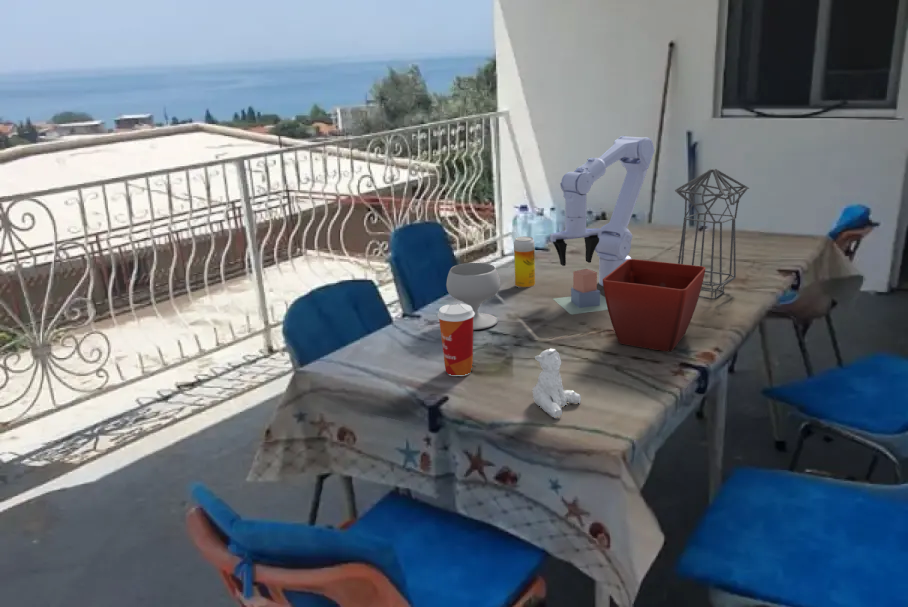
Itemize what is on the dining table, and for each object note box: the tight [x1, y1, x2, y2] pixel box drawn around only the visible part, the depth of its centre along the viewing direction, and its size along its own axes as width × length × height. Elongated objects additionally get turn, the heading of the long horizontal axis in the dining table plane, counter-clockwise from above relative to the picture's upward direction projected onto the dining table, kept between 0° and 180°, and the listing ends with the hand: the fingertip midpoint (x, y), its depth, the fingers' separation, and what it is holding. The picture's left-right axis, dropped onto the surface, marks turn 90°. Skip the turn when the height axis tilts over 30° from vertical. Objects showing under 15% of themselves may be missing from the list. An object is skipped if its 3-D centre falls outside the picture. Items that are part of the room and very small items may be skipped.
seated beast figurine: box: [531, 348, 582, 419], centre depth 140 cm, size 10×9×12 cm
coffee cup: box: [436, 303, 475, 375], centre depth 157 cm, size 8×8×15 cm
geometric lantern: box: [674, 168, 750, 300], centre depth 196 cm, size 16×16×35 cm
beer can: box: [513, 236, 536, 289], centre depth 213 cm, size 6×6×15 cm
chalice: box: [445, 262, 501, 331], centre depth 186 cm, size 14×14×15 cm
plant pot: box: [602, 258, 707, 352], centre depth 169 cm, size 19×19×17 cm
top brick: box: [572, 268, 598, 293], centre depth 194 cm, size 4×4×5 cm
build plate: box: [552, 293, 608, 315], centre depth 196 cm, size 14×14×1 cm
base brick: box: [570, 286, 601, 308], centre depth 196 cm, size 6×6×4 cm
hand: (575, 263), depth 200 cm, fingers open, 7 cm apart
